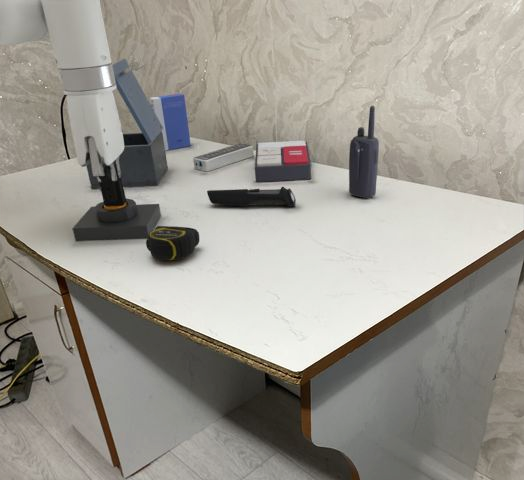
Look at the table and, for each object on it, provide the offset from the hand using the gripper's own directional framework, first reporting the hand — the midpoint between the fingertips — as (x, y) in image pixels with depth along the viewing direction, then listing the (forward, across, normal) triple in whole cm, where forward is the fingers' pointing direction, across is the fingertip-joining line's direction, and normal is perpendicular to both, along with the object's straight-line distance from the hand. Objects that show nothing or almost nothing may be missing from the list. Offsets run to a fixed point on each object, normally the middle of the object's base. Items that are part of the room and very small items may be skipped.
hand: (115, 204), depth 87 cm
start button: (+2, 0, 0) cm, 2 cm away
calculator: (+4, -29, +27) cm, 40 cm away
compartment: (+4, -28, -5) cm, 29 cm away
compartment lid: (-11, -28, -1) cm, 30 cm away
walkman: (+4, -52, 0) cm, 52 cm away
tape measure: (+4, +11, +11) cm, 16 cm away
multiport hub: (+4, -37, +14) cm, 40 cm away
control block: (+4, 0, 0) cm, 4 cm away
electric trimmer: (+4, -8, +22) cm, 24 cm away
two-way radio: (+4, -11, +41) cm, 43 cm away
